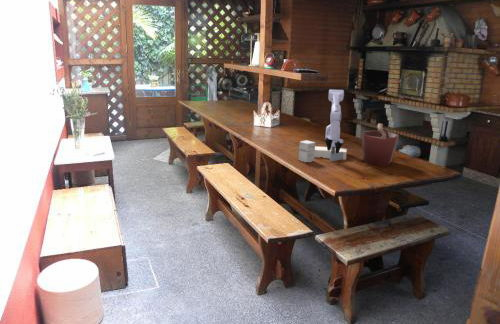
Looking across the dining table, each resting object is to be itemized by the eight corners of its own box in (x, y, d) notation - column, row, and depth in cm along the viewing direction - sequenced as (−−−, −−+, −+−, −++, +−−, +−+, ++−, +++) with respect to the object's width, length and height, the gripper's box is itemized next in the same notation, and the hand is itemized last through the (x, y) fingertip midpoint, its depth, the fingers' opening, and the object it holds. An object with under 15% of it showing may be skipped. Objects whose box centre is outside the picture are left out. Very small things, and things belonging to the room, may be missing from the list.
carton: (310, 153, 283) (310, 146, 282) (345, 155, 278) (346, 148, 277) (309, 156, 274) (309, 149, 272) (345, 159, 269) (346, 152, 267)
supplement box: (298, 160, 264) (299, 141, 260) (306, 158, 269) (307, 140, 265) (306, 163, 258) (307, 143, 255) (314, 161, 263) (315, 142, 260)
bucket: (389, 169, 249) (394, 129, 242) (353, 164, 259) (357, 125, 252) (397, 160, 269) (401, 123, 262) (363, 155, 279) (367, 119, 272)
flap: (329, 160, 264) (330, 147, 261) (341, 158, 269) (342, 145, 267) (331, 161, 262) (332, 147, 259) (343, 159, 267) (344, 146, 265)
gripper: (322, 129, 262) (320, 149, 266) (337, 133, 250) (336, 154, 254) (330, 128, 266) (328, 148, 270) (346, 132, 254) (344, 153, 258)
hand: (333, 151), depth 262 cm, fingers open, 7 cm apart
